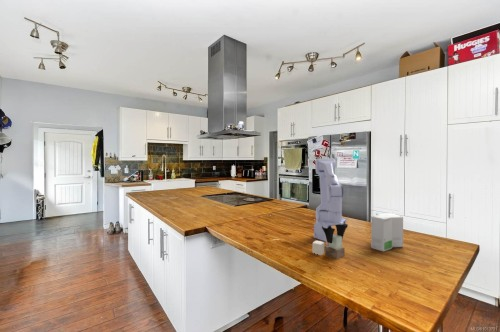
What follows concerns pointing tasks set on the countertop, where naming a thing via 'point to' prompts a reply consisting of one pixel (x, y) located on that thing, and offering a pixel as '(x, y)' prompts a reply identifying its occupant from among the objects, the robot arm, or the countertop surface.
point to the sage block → (336, 242)
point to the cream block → (318, 247)
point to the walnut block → (334, 252)
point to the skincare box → (381, 232)
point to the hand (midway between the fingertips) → (334, 240)
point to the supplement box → (396, 229)
